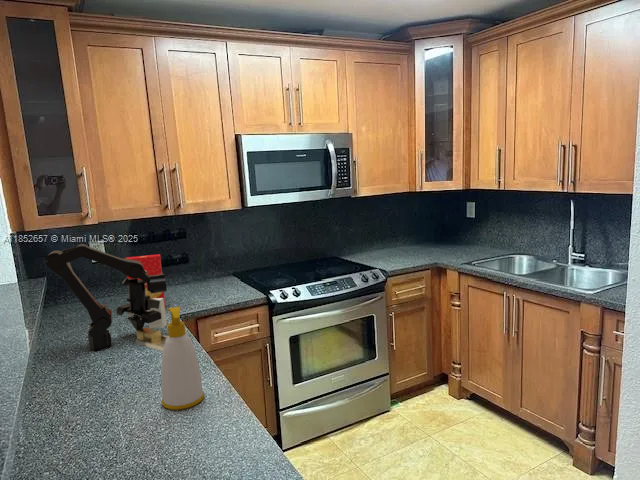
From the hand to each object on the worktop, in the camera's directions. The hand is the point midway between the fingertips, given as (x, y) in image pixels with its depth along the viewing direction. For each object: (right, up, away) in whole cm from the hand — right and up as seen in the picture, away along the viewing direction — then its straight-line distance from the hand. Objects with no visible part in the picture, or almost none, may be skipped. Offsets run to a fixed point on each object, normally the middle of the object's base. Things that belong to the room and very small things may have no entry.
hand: (140, 334), depth 165 cm
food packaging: (-12, +3, +40) cm, 42 cm away
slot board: (+9, -3, -5) cm, 11 cm away
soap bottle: (+30, -8, -45) cm, 55 cm away
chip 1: (+2, -2, -1) cm, 3 cm away
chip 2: (+6, -2, -4) cm, 7 cm away
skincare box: (+2, 0, +13) cm, 13 cm away
